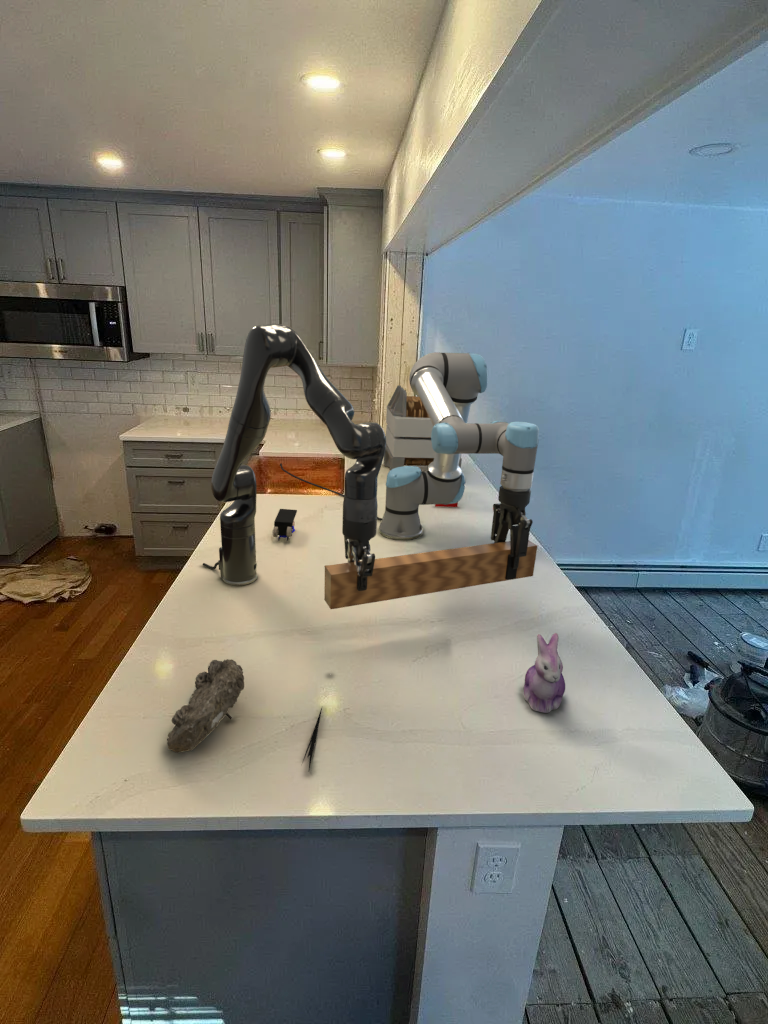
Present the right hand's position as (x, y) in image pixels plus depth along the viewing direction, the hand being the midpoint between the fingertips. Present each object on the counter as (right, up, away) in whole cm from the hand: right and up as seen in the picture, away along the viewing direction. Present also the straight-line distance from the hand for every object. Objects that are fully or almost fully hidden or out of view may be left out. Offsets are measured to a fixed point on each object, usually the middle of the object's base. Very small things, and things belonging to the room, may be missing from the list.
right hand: (504, 573), depth 145 cm
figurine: (+2, -23, -28) cm, 36 cm away
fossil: (-64, -23, -37) cm, 77 cm away
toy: (-6, +22, +96) cm, 99 cm away
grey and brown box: (-14, +35, +130) cm, 135 cm away
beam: (-18, -3, -7) cm, 20 cm away
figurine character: (-65, +8, +48) cm, 81 cm away
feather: (-43, -24, -36) cm, 61 cm away
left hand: (-37, -1, -16) cm, 40 cm away
